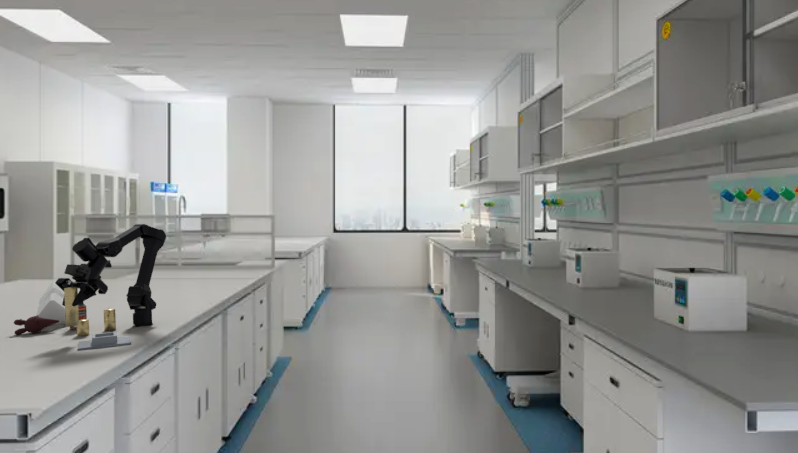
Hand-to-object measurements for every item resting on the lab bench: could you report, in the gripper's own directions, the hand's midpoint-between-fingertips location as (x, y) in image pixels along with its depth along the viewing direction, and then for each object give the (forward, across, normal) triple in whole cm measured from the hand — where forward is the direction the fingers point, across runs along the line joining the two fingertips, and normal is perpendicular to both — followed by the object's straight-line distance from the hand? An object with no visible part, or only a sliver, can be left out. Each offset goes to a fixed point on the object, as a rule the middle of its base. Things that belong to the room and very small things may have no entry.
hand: (68, 305), depth 200 cm
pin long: (+4, 0, +6) cm, 7 cm away
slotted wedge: (-10, -38, +30) cm, 50 cm away
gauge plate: (+7, +12, +12) cm, 18 cm away
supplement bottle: (-6, -20, +26) cm, 33 cm away
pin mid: (-6, -5, +26) cm, 27 cm away
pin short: (0, -8, +19) cm, 21 cm away
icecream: (+1, -30, +18) cm, 35 cm away
